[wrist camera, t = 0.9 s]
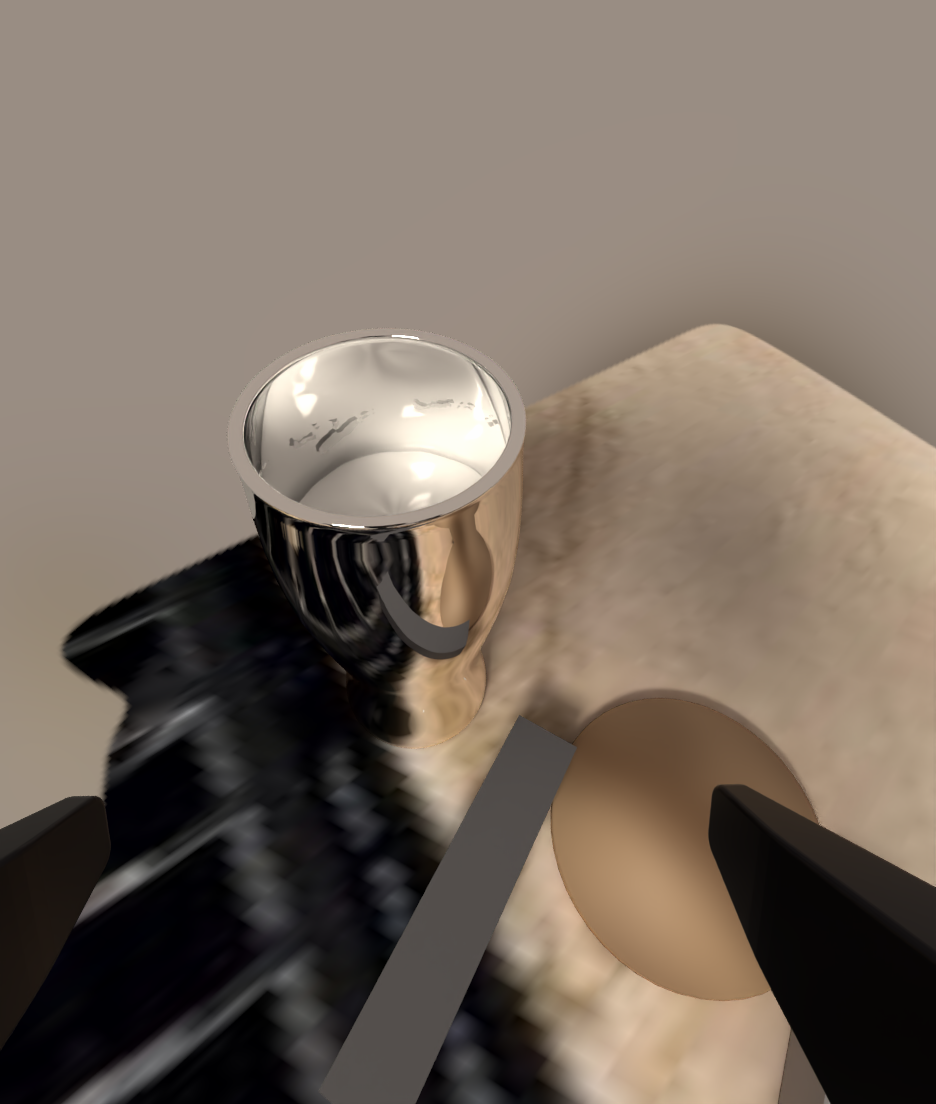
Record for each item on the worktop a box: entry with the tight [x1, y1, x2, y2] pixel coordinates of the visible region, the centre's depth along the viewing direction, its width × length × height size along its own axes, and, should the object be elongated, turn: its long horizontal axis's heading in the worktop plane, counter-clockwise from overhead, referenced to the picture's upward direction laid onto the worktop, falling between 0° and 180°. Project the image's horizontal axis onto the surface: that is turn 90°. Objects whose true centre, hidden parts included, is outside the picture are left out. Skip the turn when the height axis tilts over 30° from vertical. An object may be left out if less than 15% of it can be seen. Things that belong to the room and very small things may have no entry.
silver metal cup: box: [227, 328, 526, 749], centre depth 18 cm, size 7×7×15 cm
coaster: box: [551, 698, 819, 1001], centre depth 21 cm, size 10×10×1 cm
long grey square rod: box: [318, 715, 577, 1104], centre depth 19 cm, size 12×2×2 cm, turn 150°
